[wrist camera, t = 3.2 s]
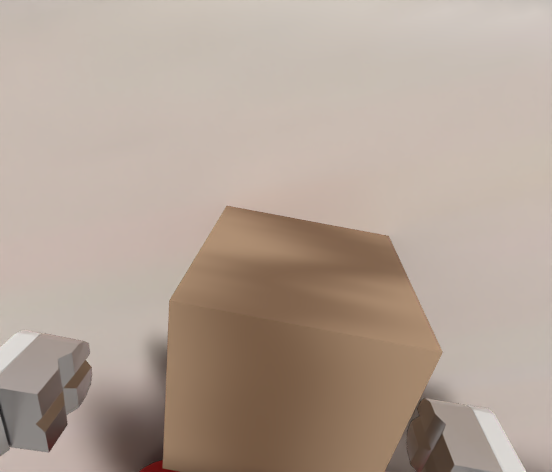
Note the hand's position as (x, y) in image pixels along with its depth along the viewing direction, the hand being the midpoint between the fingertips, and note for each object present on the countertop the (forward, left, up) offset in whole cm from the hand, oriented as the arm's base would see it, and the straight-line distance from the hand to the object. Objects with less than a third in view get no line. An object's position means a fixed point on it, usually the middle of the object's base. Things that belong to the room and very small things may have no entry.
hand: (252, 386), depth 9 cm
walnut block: (-1, -1, -4) cm, 4 cm away
